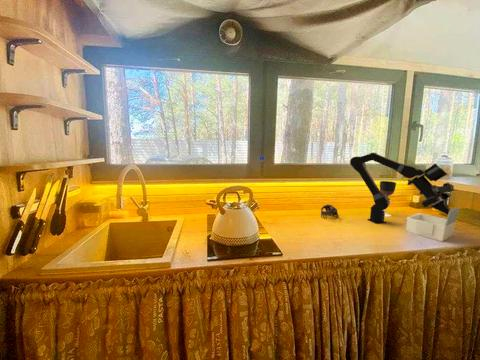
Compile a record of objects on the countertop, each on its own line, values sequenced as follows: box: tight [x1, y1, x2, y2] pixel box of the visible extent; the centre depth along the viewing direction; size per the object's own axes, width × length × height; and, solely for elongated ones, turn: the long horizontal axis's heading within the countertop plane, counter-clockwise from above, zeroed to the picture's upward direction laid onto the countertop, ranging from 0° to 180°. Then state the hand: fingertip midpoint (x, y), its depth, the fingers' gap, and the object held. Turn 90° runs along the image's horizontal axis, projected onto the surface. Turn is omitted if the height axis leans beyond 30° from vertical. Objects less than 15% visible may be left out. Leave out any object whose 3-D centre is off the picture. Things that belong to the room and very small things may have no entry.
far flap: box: [445, 206, 461, 226], centre depth 104 cm, size 7×12×1 cm
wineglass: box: [379, 180, 397, 217], centre depth 139 cm, size 8×9×20 cm
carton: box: [405, 212, 456, 243], centre depth 112 cm, size 15×15×7 cm
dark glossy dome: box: [320, 203, 339, 218], centre depth 136 cm, size 12×10×8 cm
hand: (451, 215), depth 105 cm, fingers closed, pressing on far flap
